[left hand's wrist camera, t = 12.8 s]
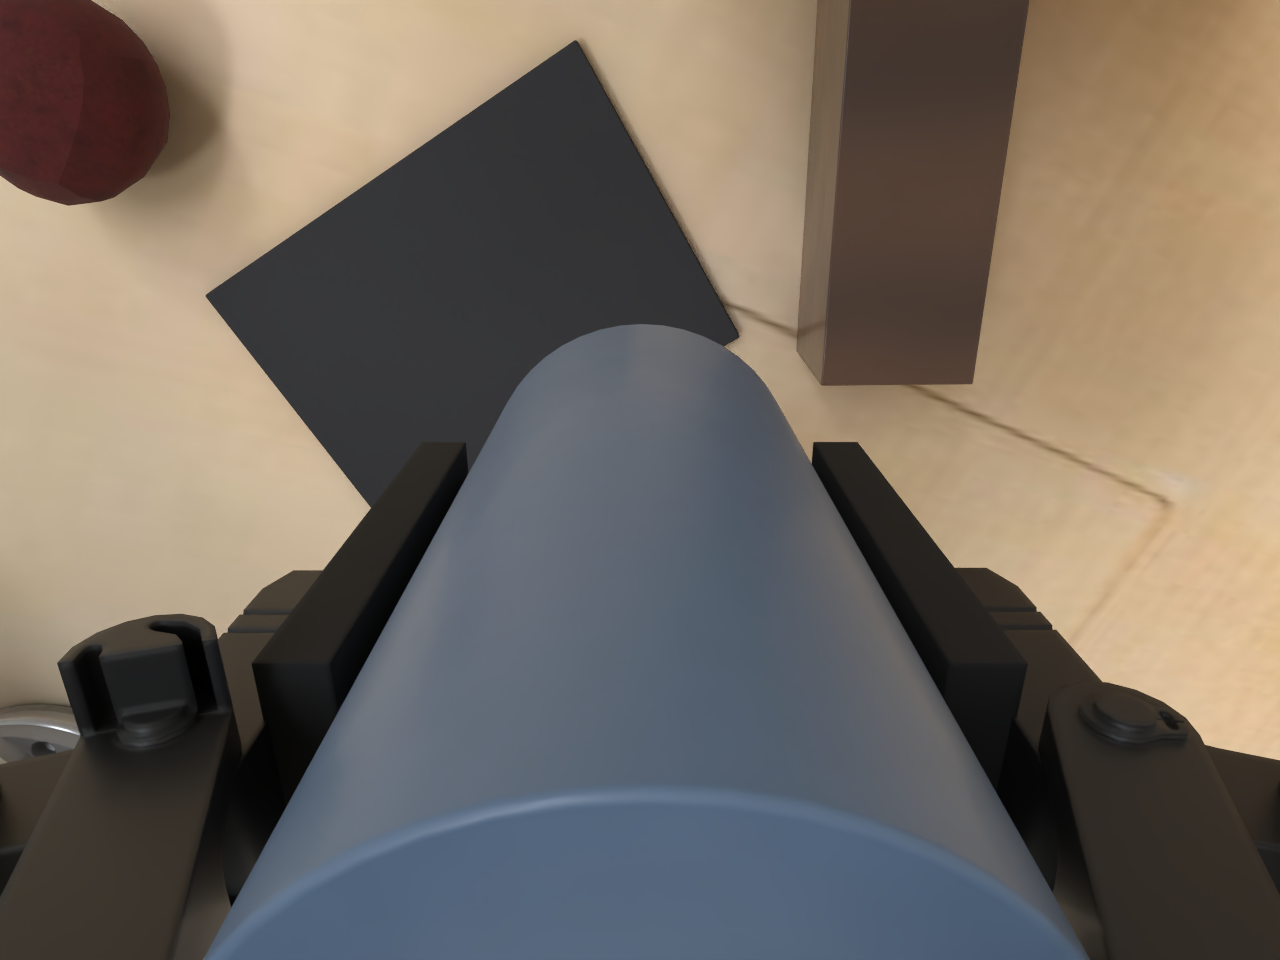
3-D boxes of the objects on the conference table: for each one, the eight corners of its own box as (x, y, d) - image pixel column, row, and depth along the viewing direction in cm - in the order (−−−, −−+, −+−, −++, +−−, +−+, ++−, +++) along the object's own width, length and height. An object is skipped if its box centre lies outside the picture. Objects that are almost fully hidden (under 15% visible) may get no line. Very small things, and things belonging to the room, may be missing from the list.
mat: (395, 530, 41) (392, 535, 41) (211, 293, 37) (204, 295, 36) (738, 334, 37) (740, 337, 37) (577, 41, 33) (575, 39, 32)
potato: (223, 52, 33) (117, 27, 26) (179, 230, 36) (73, 247, 29) (42, -37, 32) (-116, -87, 25) (11, 152, 35) (-139, 152, 28)
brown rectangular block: (925, 349, 37) (972, 384, 32) (796, 351, 37) (821, 385, 32) (999, -250, 29) (1080, -345, 23) (832, -246, 29) (874, -340, 24)
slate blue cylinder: (591, 645, 18) (509, 1476, 7) (433, 420, 16) (-69, 1054, 5) (840, 521, 17) (1254, 1269, 5) (702, 263, 15) (901, 595, 3)
